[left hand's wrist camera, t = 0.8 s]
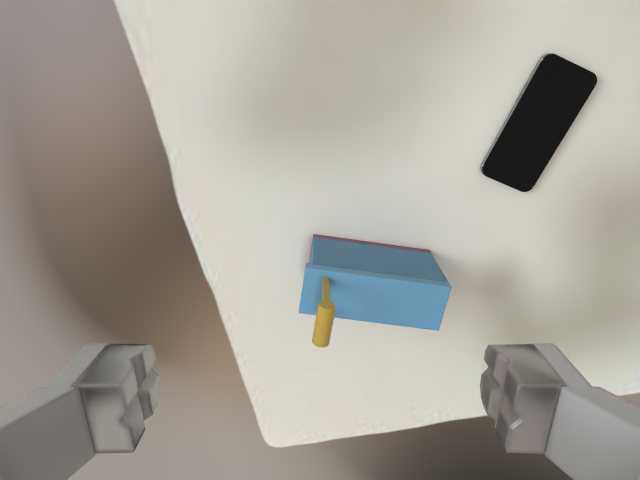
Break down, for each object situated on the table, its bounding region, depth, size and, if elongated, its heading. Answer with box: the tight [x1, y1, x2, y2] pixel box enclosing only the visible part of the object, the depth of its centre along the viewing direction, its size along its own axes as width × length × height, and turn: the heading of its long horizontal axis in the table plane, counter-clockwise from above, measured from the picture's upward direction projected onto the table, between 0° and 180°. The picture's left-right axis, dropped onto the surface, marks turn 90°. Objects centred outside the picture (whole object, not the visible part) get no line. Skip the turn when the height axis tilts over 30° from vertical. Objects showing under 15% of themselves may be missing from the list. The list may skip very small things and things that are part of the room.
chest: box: [309, 235, 448, 282], centre depth 54 cm, size 16×6×9 cm, turn 82°
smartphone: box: [481, 54, 597, 192], centre depth 51 cm, size 7×1×15 cm
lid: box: [299, 263, 451, 347], centre depth 46 cm, size 16×6×8 cm, turn 82°
